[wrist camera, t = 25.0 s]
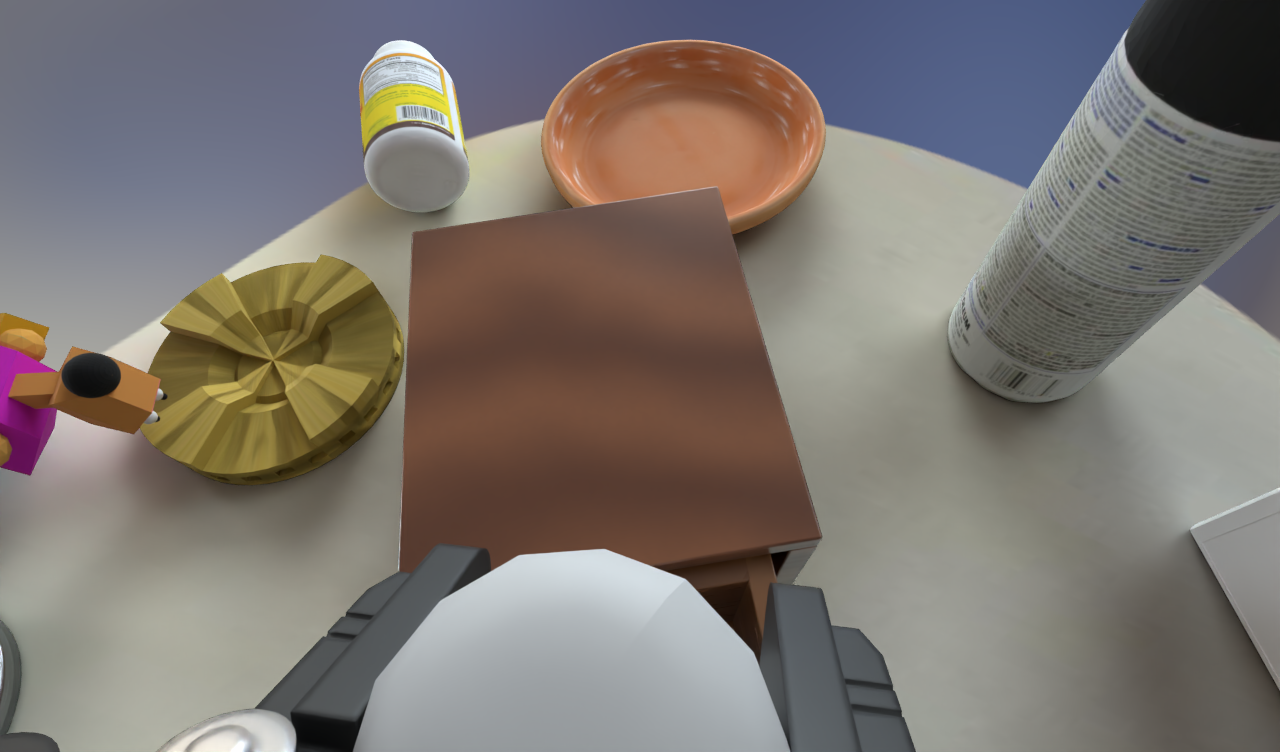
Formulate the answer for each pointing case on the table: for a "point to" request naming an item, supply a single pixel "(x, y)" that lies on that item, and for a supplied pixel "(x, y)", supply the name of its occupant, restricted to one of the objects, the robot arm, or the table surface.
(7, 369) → the toy
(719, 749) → the salt shaker
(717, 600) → the drawer
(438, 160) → the supplement bottle
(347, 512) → the table surface
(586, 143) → the saucer
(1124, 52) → the spray can
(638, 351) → the cabinet
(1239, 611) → the perfume bottle
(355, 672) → the robot arm
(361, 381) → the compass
